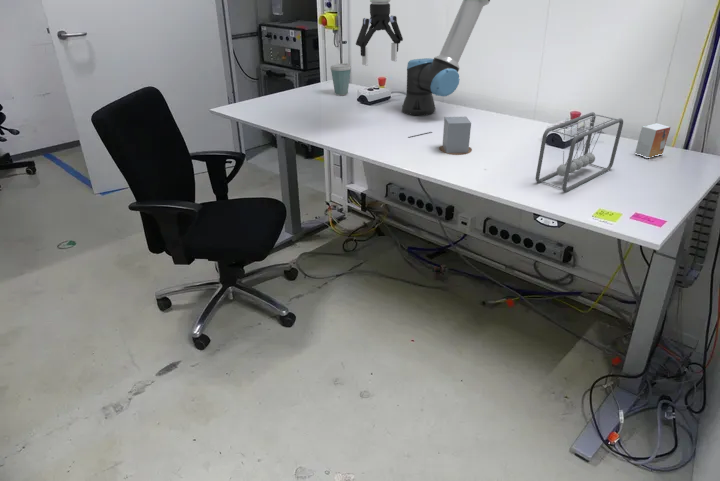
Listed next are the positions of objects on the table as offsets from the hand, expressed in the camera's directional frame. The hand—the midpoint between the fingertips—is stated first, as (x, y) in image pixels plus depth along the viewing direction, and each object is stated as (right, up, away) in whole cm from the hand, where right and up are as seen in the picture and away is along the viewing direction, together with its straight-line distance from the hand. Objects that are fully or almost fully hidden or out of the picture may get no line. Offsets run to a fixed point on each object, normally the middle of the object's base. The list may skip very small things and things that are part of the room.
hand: (379, 62), depth 198 cm
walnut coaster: (+28, -36, -10) cm, 46 cm away
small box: (+96, -39, -16) cm, 105 cm away
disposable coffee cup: (-17, +7, +65) cm, 68 cm away
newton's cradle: (+62, -48, -32) cm, 85 cm away
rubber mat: (+19, -30, +2) cm, 35 cm away
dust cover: (+28, -35, -10) cm, 46 cm away
